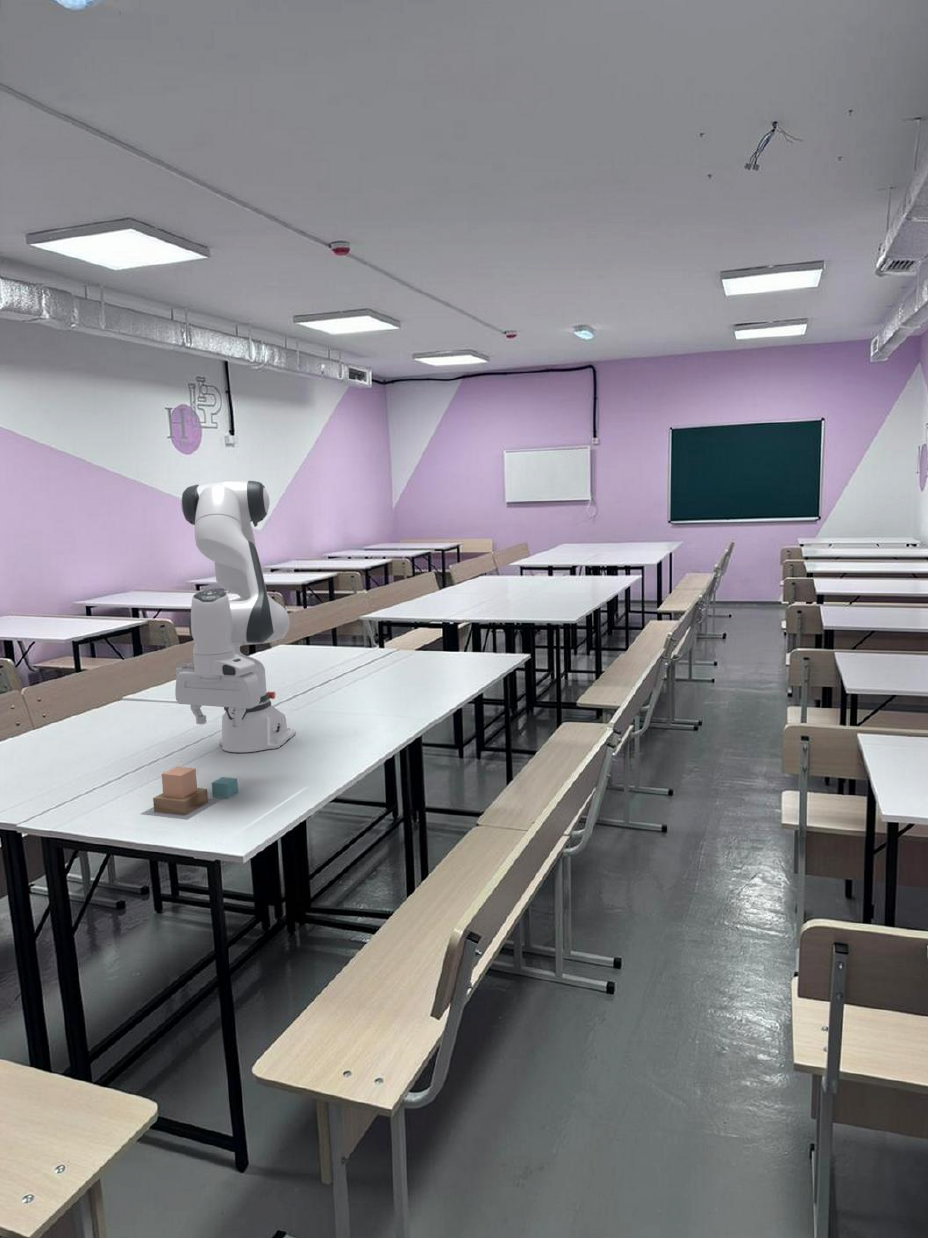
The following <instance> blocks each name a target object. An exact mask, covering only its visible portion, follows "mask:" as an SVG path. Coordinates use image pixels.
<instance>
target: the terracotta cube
mask: <svg viewBox="0 0 928 1238" xmlns="http://www.w3.org/2000/svg"><path fill="white" fill-rule="evenodd" d="M196 770H197V768H194V767H184V766H174V767H172V768H171V769H169V770H167V771H165V772H163V773H161V782H162V793H163V796H166V797H176V798H184V797H186V796H188V795H190V794H192V793H193V792H195V791H197V788H198V783H197V771H196Z"/></svg>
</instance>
